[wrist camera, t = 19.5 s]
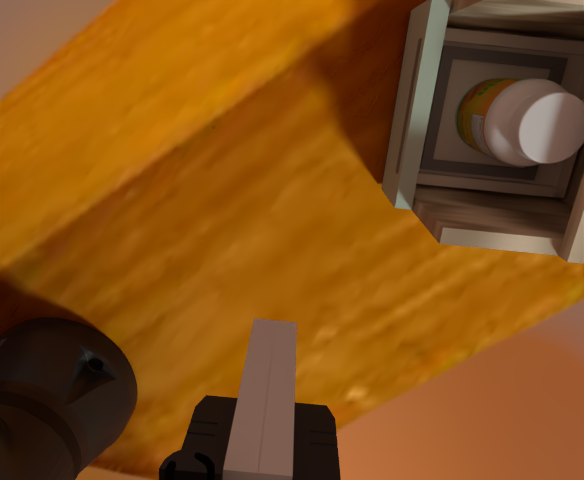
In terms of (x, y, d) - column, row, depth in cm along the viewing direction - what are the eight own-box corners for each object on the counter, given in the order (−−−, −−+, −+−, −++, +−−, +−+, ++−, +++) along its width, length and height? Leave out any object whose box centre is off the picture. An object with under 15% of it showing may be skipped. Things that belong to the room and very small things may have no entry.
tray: (380, 188, 39) (394, 207, 33) (410, 10, 34) (431, -4, 28) (544, 205, 39) (586, 226, 33) (595, 29, 34) (653, 19, 29)
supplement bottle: (519, 68, 34) (600, 64, 25) (529, 139, 35) (608, 160, 26) (446, 91, 34) (498, 96, 25) (460, 159, 36) (513, 187, 27)
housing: (396, 191, 39) (444, 249, 26) (429, 10, 34) (507, -33, 21) (559, 208, 39) (689, 274, 26) (613, 29, 35) (805, -1, 21)
